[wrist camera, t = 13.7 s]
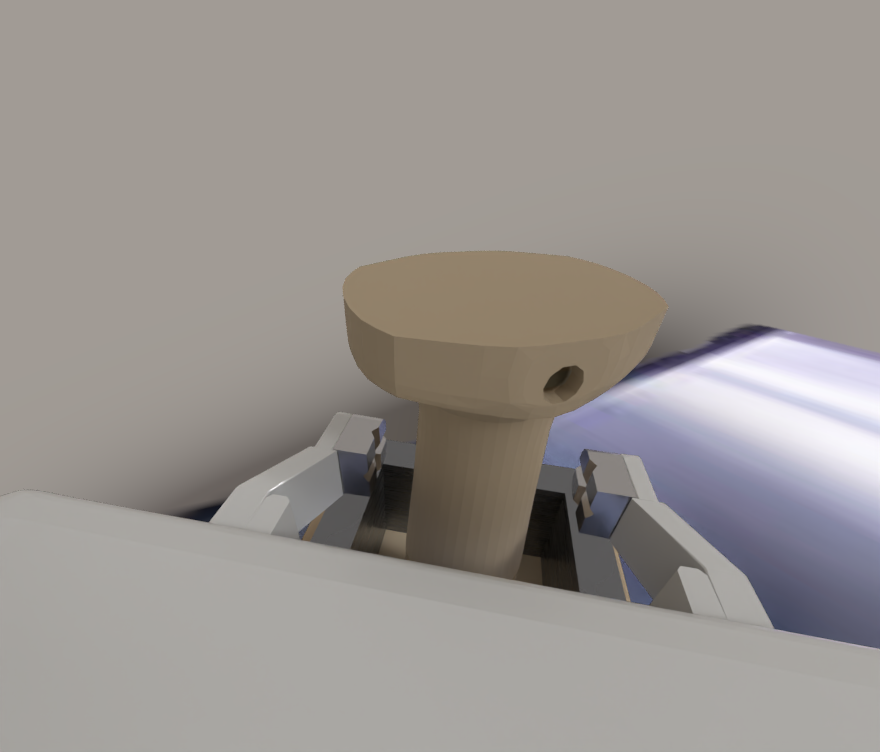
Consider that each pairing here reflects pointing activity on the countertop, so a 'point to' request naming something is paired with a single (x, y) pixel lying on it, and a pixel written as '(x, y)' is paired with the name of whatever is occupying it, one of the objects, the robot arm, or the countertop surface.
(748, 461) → the countertop surface
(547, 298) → the handle
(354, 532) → the square frame
